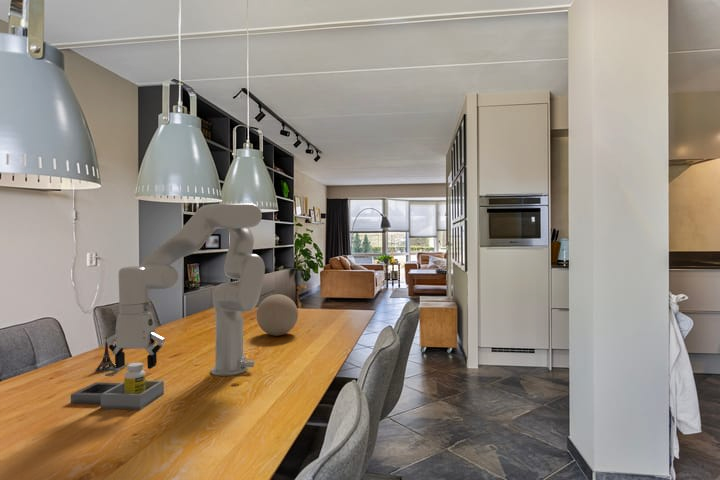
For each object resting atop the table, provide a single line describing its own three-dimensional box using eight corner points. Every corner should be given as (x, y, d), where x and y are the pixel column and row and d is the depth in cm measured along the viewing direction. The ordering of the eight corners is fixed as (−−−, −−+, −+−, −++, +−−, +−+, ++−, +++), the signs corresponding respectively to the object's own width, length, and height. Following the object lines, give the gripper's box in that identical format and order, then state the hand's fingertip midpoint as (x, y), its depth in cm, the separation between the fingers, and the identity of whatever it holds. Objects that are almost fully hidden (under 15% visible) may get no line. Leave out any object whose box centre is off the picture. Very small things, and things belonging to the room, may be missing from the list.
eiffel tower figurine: (112, 377, 141) (112, 338, 141) (81, 378, 140) (81, 339, 140) (131, 364, 156) (131, 329, 156) (102, 365, 154) (102, 329, 154)
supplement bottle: (135, 402, 116) (135, 367, 116) (119, 400, 117) (119, 366, 117) (149, 395, 121) (149, 362, 121) (134, 393, 123) (134, 361, 123)
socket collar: (126, 391, 127) (126, 383, 127) (103, 404, 117) (103, 395, 117) (95, 390, 127) (95, 382, 127) (70, 403, 117) (70, 394, 117)
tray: (163, 394, 125) (163, 380, 125) (140, 409, 113) (140, 395, 113) (127, 392, 125) (127, 379, 125) (100, 408, 114) (100, 394, 114)
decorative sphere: (259, 330, 210) (259, 292, 210) (298, 330, 213) (298, 291, 212) (253, 340, 190) (253, 297, 190) (296, 339, 193) (297, 297, 193)
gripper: (169, 306, 122) (171, 363, 123) (114, 306, 124) (116, 362, 124) (155, 311, 115) (157, 371, 115) (97, 311, 116) (99, 371, 117)
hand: (136, 367), depth 120 cm, fingers open, 9 cm apart
